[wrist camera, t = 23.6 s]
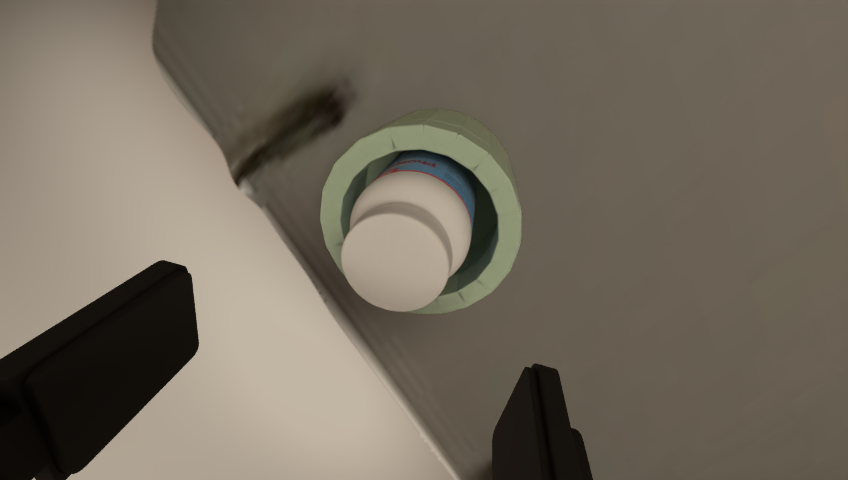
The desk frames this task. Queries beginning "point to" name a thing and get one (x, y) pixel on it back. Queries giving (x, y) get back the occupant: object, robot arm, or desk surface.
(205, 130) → the desk surface
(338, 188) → the green cylindrical sleeve
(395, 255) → the pill bottle
